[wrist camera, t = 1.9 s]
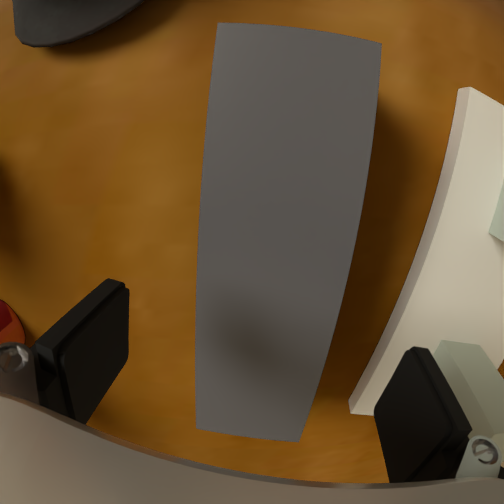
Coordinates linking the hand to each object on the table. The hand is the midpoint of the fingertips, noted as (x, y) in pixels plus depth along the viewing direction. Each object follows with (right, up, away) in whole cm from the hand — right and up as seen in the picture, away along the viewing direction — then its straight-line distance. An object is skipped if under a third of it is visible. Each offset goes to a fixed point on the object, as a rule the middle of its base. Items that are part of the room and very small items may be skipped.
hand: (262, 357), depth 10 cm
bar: (+1, +4, +10) cm, 11 cm away
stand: (+16, +1, +9) cm, 18 cm away
